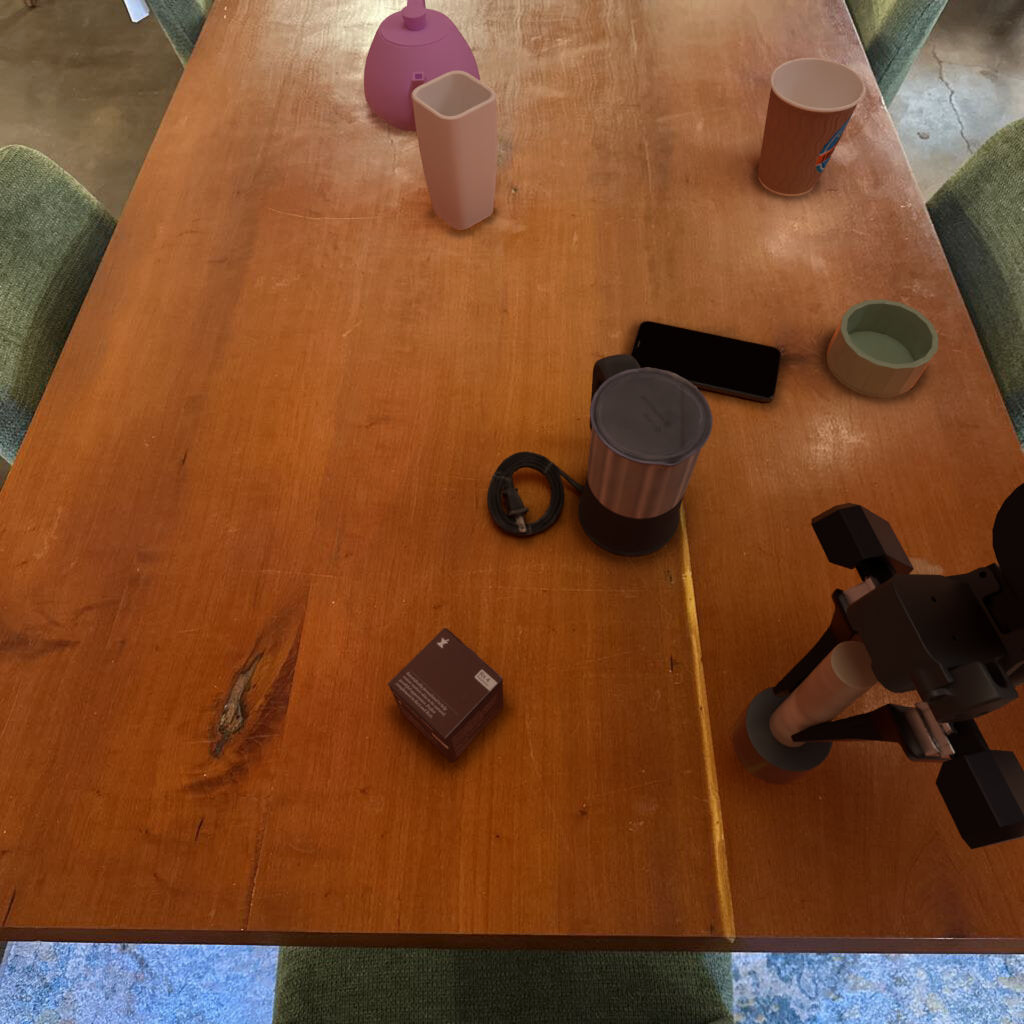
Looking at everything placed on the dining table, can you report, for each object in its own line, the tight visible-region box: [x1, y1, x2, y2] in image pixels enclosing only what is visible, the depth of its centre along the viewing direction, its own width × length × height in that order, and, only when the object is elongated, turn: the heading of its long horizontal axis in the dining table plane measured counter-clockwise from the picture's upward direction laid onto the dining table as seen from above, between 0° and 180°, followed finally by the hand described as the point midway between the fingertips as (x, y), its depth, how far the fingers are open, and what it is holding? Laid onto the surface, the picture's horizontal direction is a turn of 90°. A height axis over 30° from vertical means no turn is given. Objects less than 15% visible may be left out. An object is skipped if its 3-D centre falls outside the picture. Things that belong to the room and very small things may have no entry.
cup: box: [412, 71, 498, 231], centre depth 86 cm, size 7×7×15 cm
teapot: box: [363, 0, 481, 133], centre depth 99 cm, size 22×16×12 cm
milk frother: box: [486, 353, 714, 557], centre depth 64 cm, size 14×16×15 cm
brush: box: [731, 641, 879, 785], centre depth 46 cm, size 6×6×16 cm
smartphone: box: [629, 320, 782, 403], centre depth 79 cm, size 7×1×15 cm
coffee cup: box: [757, 57, 867, 197], centre depth 89 cm, size 10×10×12 cm
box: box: [387, 627, 504, 763], centre depth 58 cm, size 6×6×7 cm
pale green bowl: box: [826, 298, 940, 399], centre depth 77 cm, size 9×9×4 cm
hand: (784, 715), depth 47 cm, fingers closed on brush, 2 cm apart
